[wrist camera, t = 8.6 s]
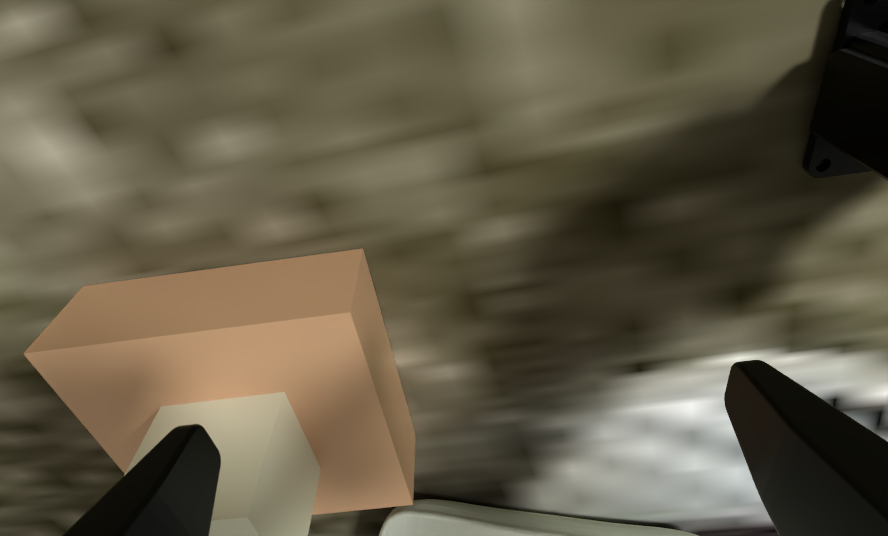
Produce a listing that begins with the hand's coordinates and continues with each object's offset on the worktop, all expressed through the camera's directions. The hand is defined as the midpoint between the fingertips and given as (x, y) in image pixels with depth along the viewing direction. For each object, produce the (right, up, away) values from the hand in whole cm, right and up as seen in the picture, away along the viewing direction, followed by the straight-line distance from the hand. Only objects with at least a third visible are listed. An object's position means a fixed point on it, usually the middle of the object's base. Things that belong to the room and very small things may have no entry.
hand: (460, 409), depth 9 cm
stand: (-9, -2, +16) cm, 18 cm away
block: (-9, -5, +13) cm, 16 cm away
